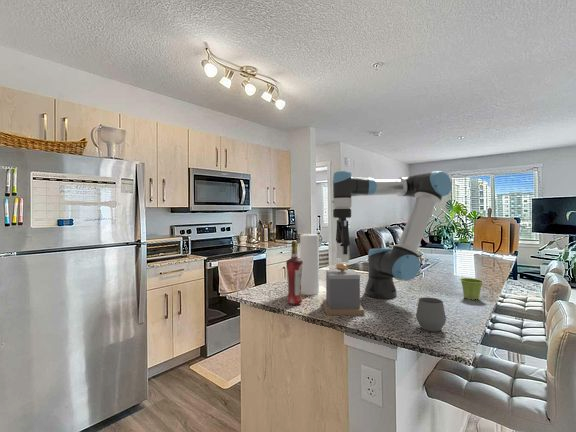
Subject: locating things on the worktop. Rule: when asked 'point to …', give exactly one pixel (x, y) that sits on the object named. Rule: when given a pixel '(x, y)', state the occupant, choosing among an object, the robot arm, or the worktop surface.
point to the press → (342, 293)
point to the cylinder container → (310, 263)
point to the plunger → (342, 267)
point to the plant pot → (471, 288)
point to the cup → (431, 314)
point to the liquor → (294, 277)
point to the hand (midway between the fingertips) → (342, 260)
